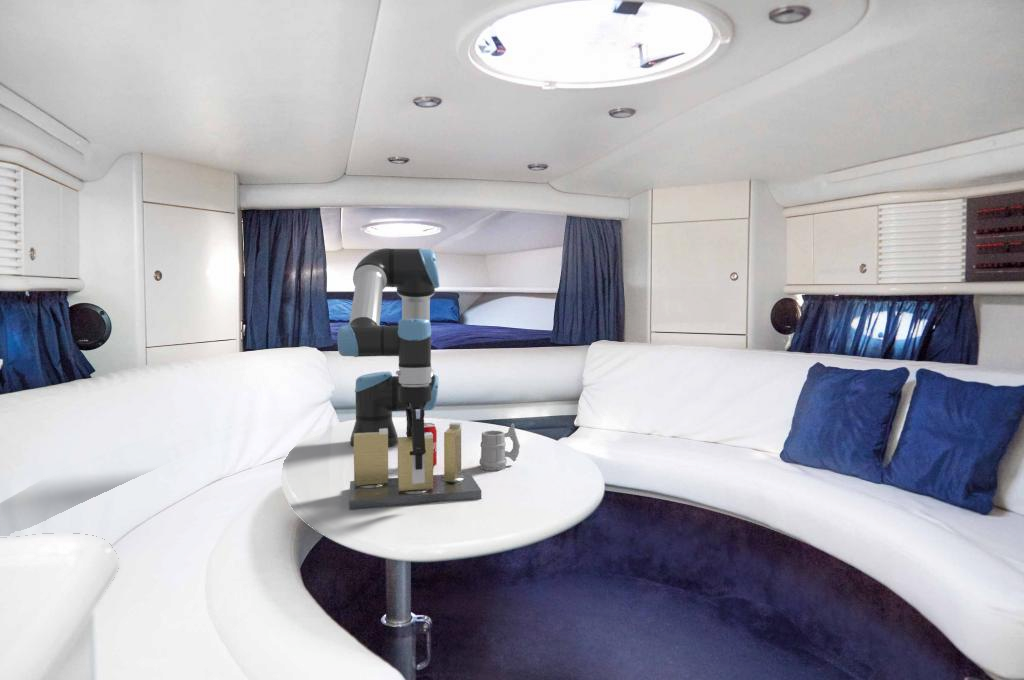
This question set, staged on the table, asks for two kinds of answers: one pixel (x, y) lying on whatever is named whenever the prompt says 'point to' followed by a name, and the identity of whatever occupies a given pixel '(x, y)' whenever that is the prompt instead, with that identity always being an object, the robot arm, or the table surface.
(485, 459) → the mug
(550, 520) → the table surface
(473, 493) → the plate
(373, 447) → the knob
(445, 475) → the tan upright panel
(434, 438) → the beverage can
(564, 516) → the table surface
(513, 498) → the table surface
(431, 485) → the tan grey-ended block
